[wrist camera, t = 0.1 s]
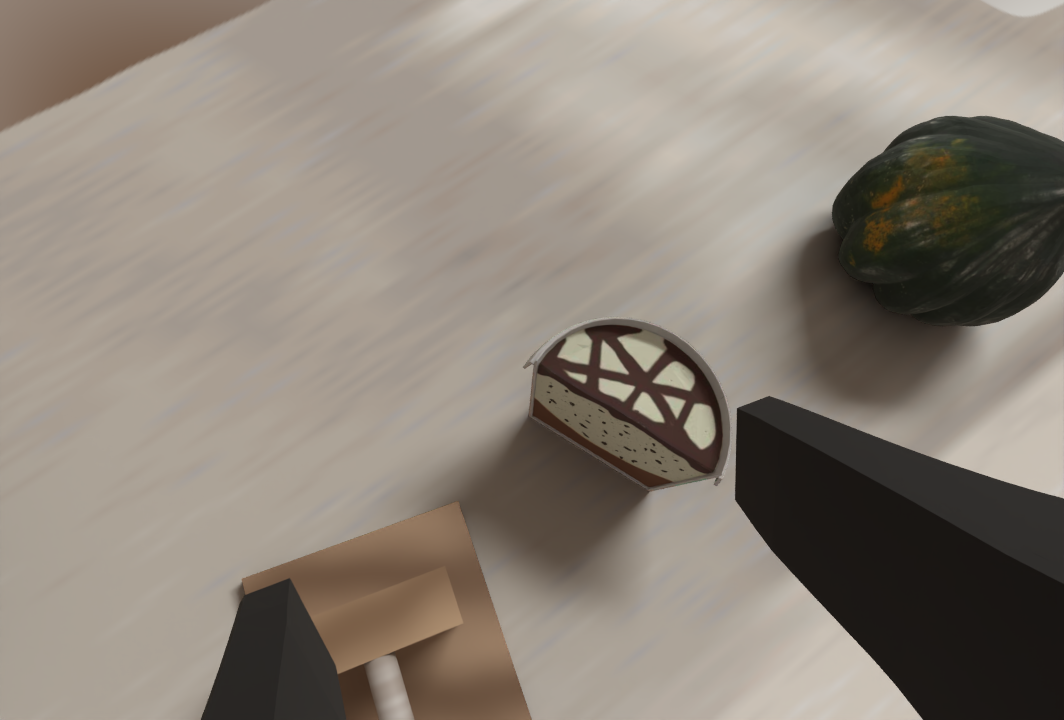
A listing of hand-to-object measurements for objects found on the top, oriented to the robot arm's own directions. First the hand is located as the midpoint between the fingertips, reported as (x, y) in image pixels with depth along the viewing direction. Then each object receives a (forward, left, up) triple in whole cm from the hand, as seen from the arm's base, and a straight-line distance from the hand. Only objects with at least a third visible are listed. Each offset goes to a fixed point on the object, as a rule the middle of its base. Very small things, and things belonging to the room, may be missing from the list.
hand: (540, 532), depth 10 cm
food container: (+6, -12, -32) cm, 35 cm away
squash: (+10, -39, -32) cm, 52 cm away
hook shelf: (-6, +6, -32) cm, 33 cm away
